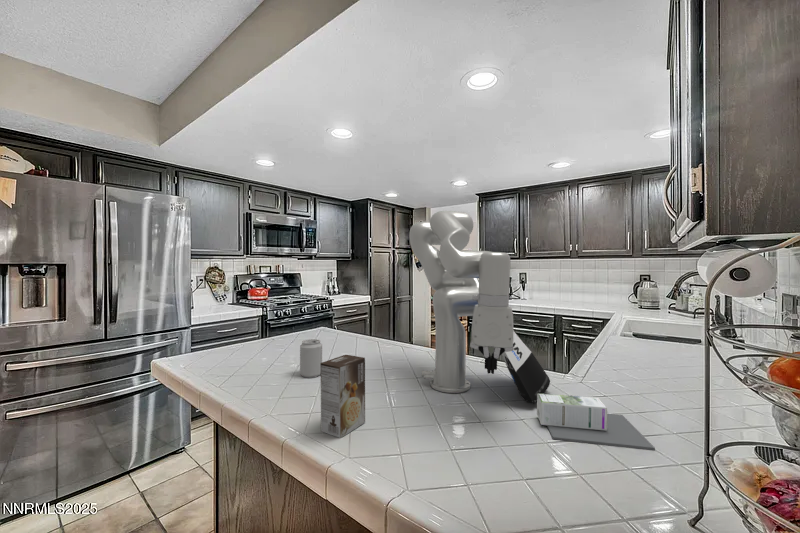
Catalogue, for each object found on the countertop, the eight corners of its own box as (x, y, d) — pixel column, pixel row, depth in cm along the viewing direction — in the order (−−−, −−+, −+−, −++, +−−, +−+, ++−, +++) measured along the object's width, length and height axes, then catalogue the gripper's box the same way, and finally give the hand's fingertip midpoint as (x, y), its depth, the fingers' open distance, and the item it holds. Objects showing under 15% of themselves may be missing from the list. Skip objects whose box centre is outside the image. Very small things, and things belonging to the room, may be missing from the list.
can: (326, 373, 119) (326, 339, 119) (310, 380, 113) (310, 344, 113) (311, 370, 123) (311, 337, 123) (295, 375, 117) (295, 341, 117)
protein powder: (550, 367, 111) (503, 286, 115) (550, 398, 89) (493, 295, 93) (523, 378, 114) (479, 298, 119) (517, 409, 92) (463, 310, 97)
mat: (552, 439, 76) (552, 437, 76) (539, 409, 91) (539, 407, 91) (654, 450, 71) (655, 447, 71) (622, 416, 87) (622, 414, 87)
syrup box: (540, 425, 81) (607, 432, 78) (541, 401, 81) (608, 407, 78) (536, 414, 87) (598, 420, 84) (536, 391, 86) (599, 397, 83)
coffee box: (345, 416, 86) (346, 353, 86) (366, 422, 83) (366, 357, 83) (319, 431, 79) (319, 362, 78) (340, 439, 75) (340, 366, 75)
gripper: (462, 301, 84) (460, 374, 85) (526, 304, 81) (523, 380, 82) (463, 297, 91) (461, 364, 92) (522, 300, 88) (519, 369, 89)
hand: (490, 371), depth 87 cm, fingers closed
